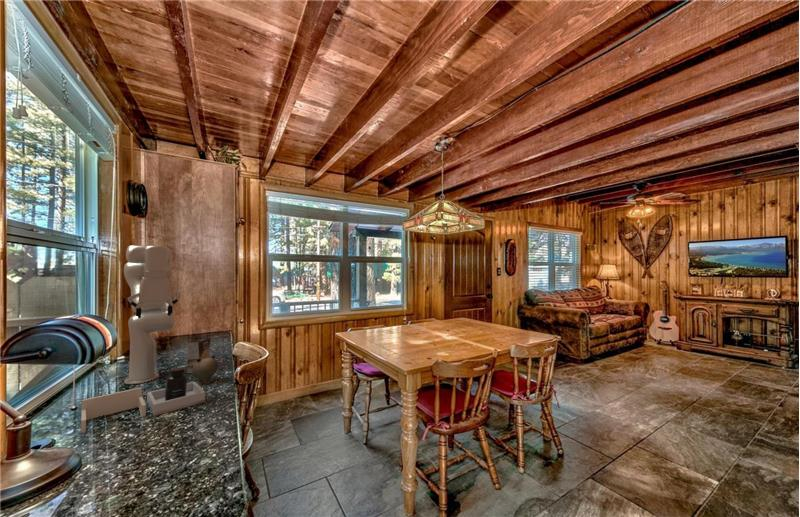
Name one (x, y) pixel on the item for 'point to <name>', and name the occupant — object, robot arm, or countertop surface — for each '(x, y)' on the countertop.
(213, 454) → the countertop surface
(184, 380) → the black boxy piece
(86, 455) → the countertop surface
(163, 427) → the countertop surface
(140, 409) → the bay
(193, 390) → the tray
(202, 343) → the coffee box
